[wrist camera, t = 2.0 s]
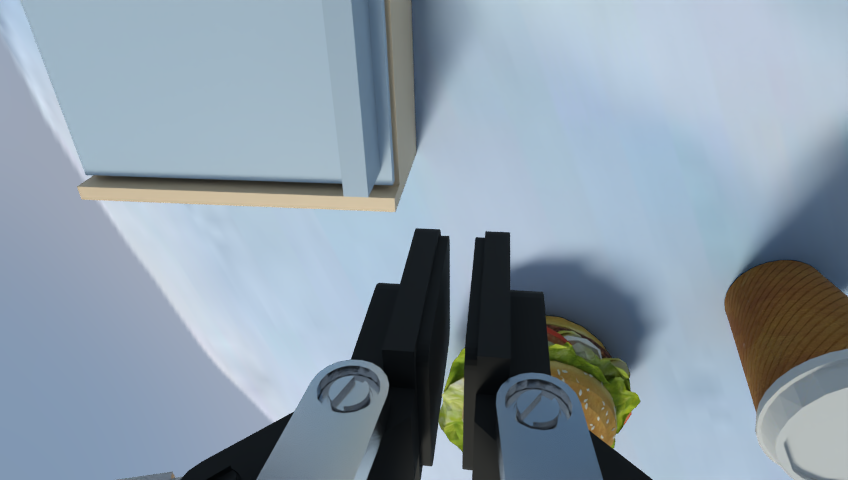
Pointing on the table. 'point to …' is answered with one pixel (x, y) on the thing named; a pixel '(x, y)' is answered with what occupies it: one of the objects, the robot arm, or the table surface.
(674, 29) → the table surface
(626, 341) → the table surface
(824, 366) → the disposable coffee cup
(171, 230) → the table surface
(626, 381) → the food
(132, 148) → the lid
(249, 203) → the mailer box
